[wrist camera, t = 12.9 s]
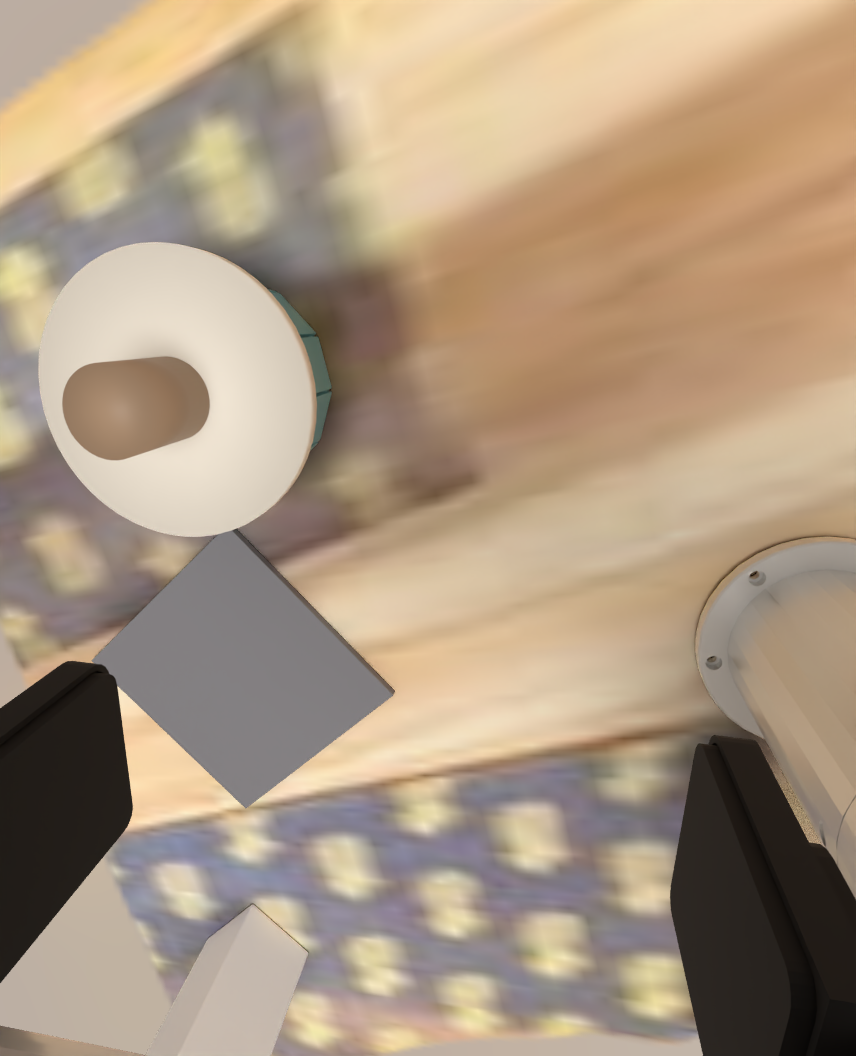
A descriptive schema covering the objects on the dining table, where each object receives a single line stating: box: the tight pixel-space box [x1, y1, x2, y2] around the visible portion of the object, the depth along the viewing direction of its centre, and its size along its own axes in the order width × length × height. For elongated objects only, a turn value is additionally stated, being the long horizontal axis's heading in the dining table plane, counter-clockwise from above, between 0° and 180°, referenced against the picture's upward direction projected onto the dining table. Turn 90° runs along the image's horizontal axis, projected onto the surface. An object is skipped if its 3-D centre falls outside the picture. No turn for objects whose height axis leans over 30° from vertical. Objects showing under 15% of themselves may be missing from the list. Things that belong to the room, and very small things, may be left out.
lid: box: [38, 242, 317, 537], centre depth 30 cm, size 14×14×6 cm
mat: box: [92, 529, 395, 808], centre depth 44 cm, size 15×15×1 cm
